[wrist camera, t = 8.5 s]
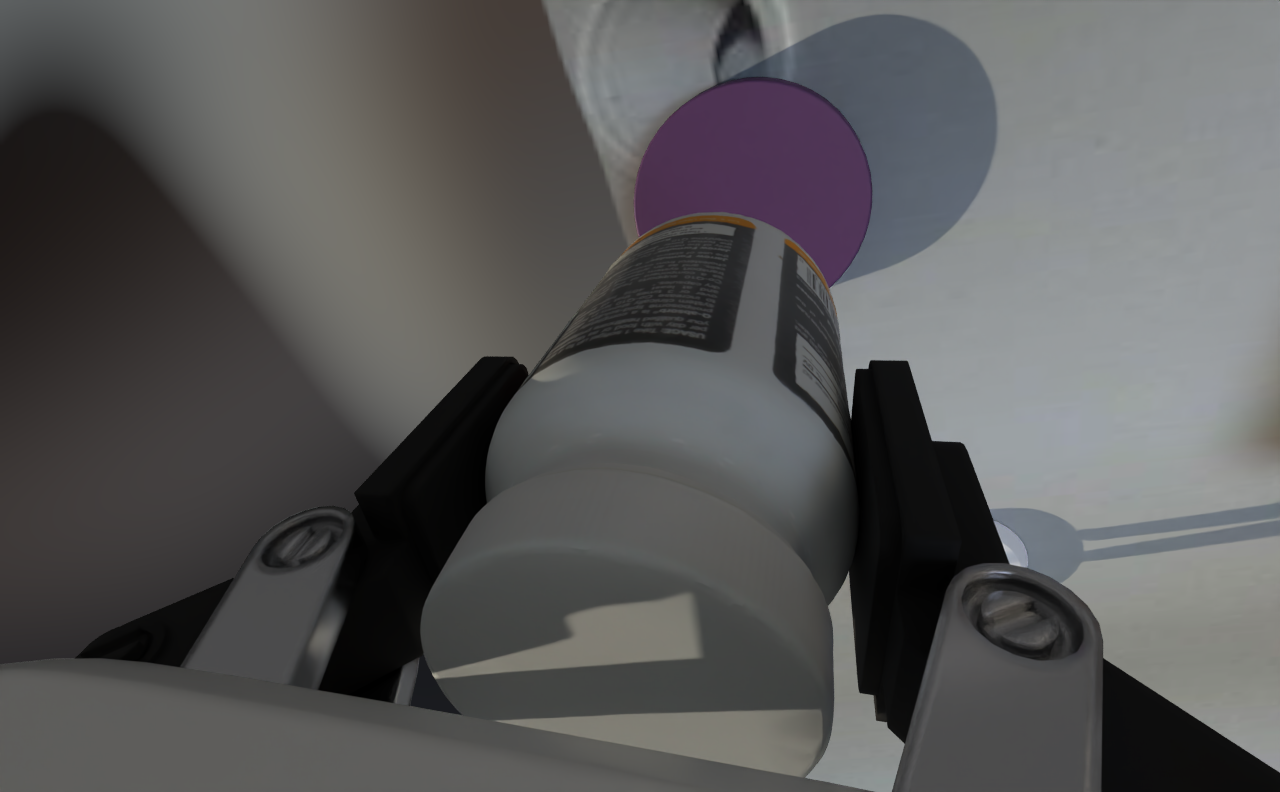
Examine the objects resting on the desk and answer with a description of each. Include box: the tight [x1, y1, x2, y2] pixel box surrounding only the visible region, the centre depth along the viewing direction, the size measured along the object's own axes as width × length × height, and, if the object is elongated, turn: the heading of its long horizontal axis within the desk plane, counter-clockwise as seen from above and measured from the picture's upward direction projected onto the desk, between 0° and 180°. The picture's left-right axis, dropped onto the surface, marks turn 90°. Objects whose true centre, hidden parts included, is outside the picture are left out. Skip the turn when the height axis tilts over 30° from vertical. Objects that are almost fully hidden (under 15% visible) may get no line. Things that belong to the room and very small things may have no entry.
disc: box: [634, 77, 872, 288], centre depth 23 cm, size 9×9×1 cm
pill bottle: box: [420, 212, 860, 778], centre depth 11 cm, size 6×6×10 cm
